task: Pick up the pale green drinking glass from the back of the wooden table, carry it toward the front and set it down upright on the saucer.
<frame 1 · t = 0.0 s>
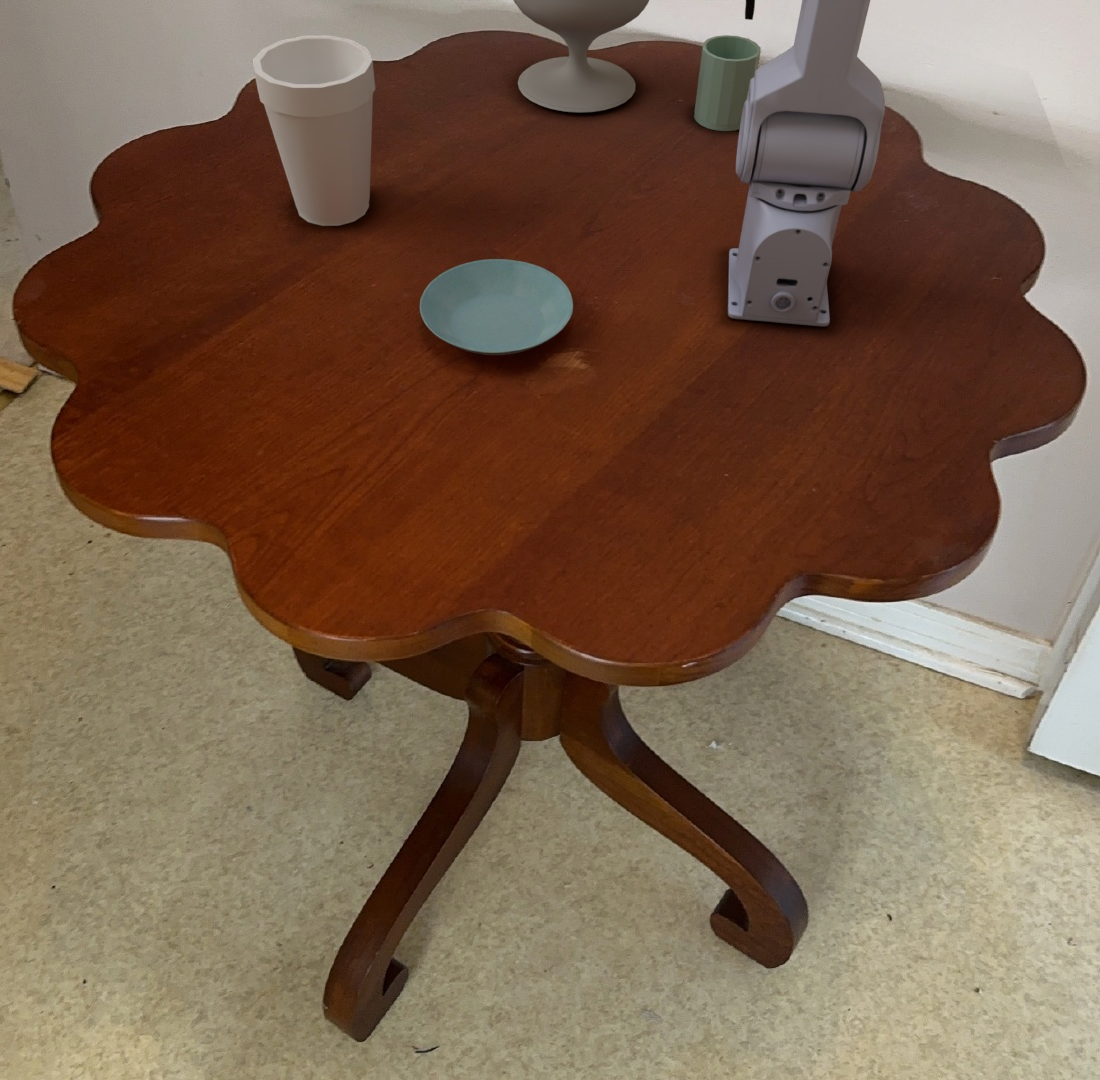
hand: (790, 18, 101), 10 cm above the table, tool pointing down, fingers open, 7 cm apart
foam cup: (333, 208, 97), on the table
glass: (721, 118, 109), on the table
saucer: (497, 328, 86), on the table
chalice: (576, 89, 113), on the table
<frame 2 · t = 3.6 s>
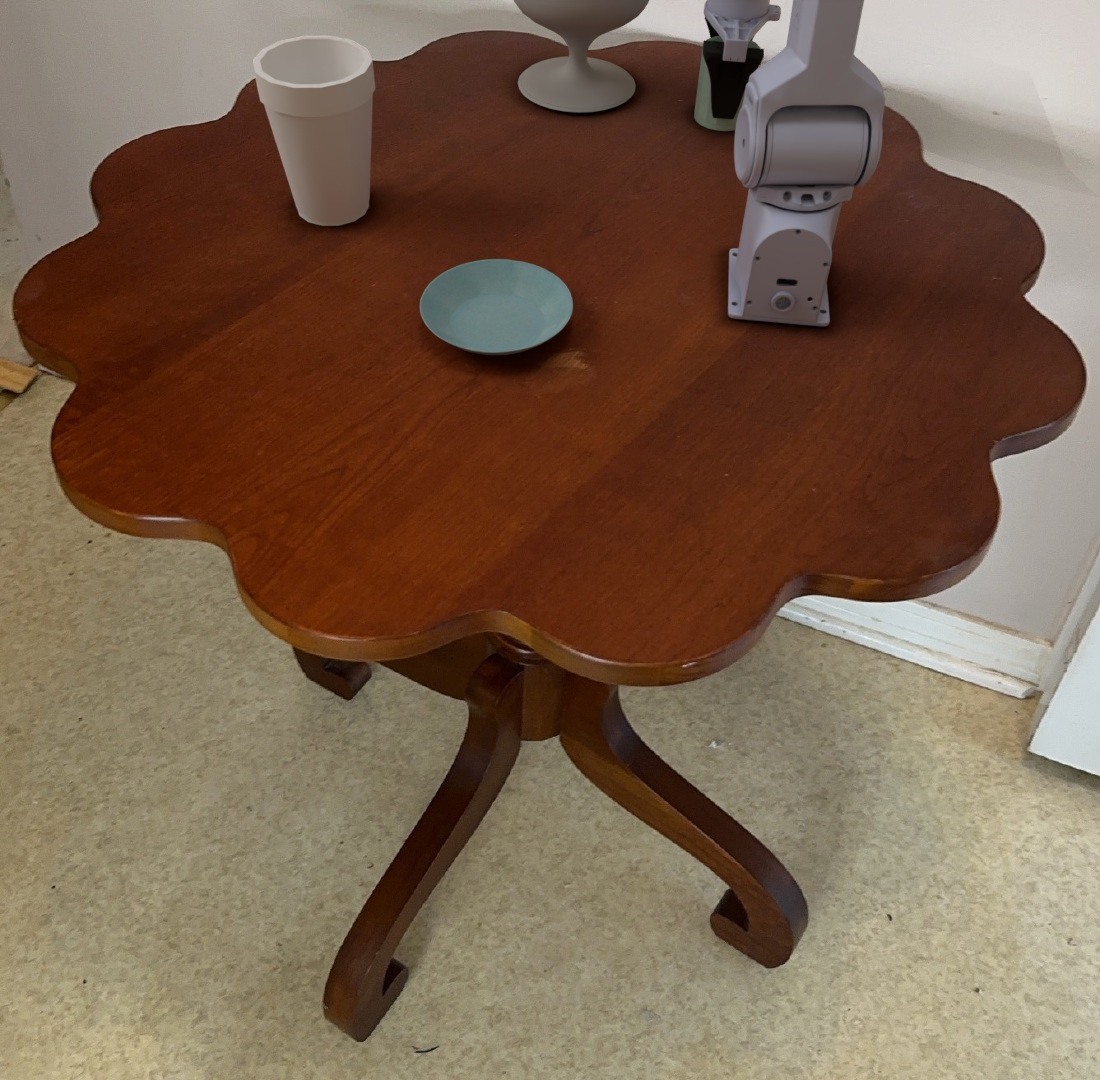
hand: (723, 102, 108), 2 cm above the table, tool pointing down, fingers closed on glass, 5 cm apart
glass: (721, 118, 109), on the table, touching gripper
everything else where it was.
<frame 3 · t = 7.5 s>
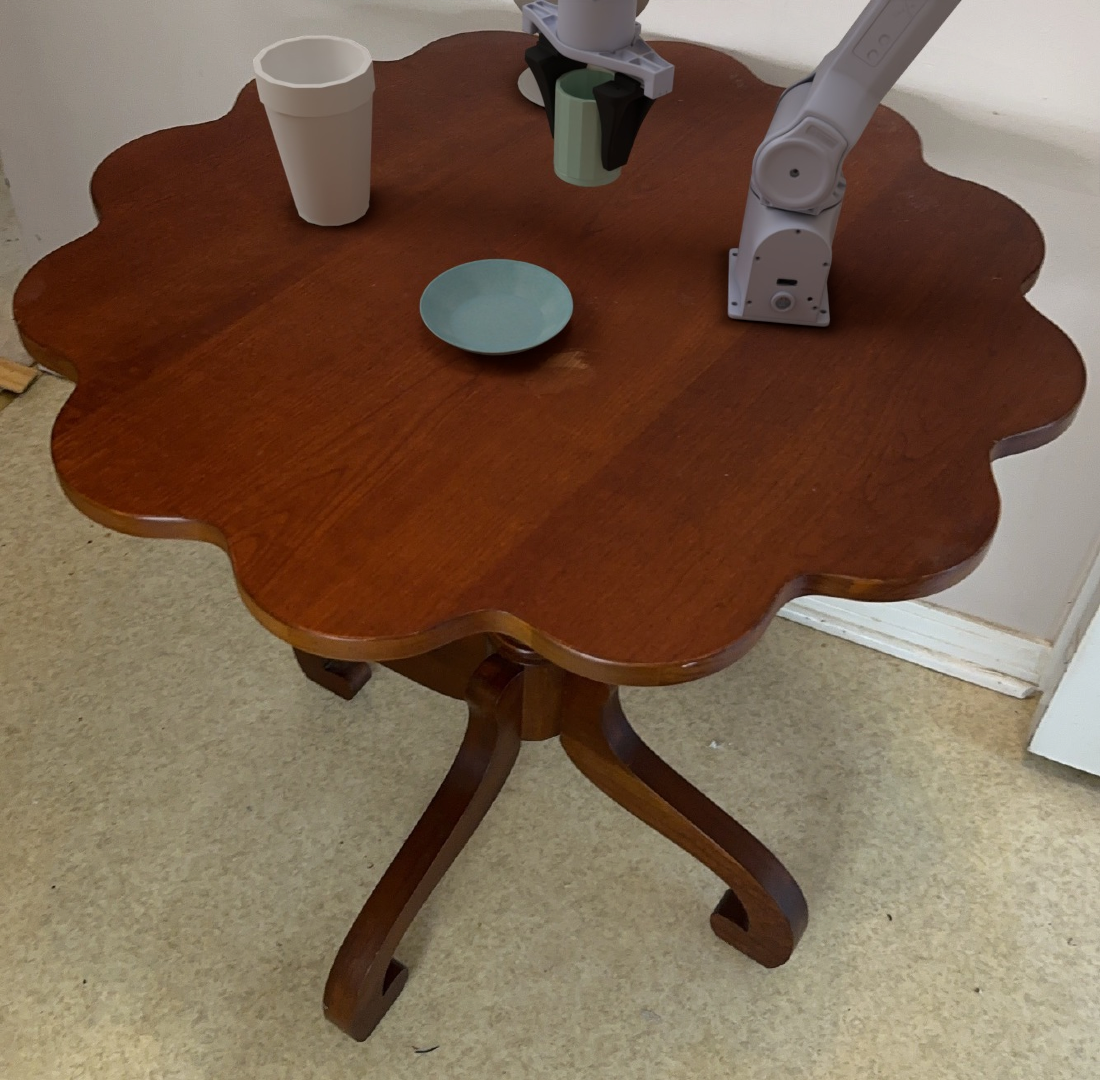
hand: (589, 151, 87), 9 cm above the table, tool pointing down, fingers closed on glass, 5 cm apart
glass: (587, 169, 88), point 7 cm above the table, touching gripper
everything else where it was.
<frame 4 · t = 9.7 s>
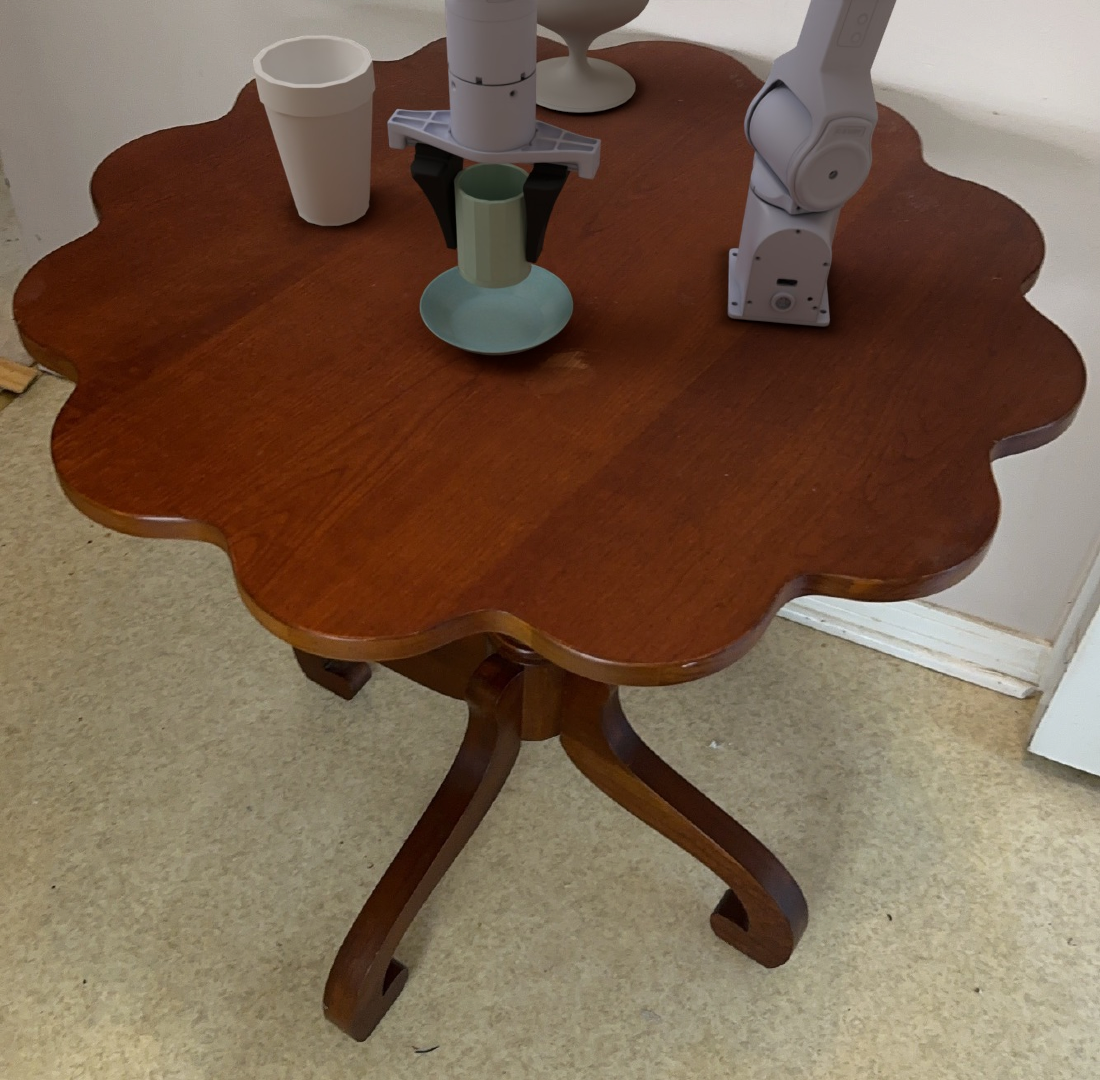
hand: (495, 248, 81), 7 cm above the table, tool pointing down, fingers closed on glass, 5 cm apart
glass: (494, 267, 82), point 5 cm above the table, touching gripper
everything else where it was.
when the fingers open (4 cm above the table, at t = 11.5 s): glass stays where it is, resting on saucer.
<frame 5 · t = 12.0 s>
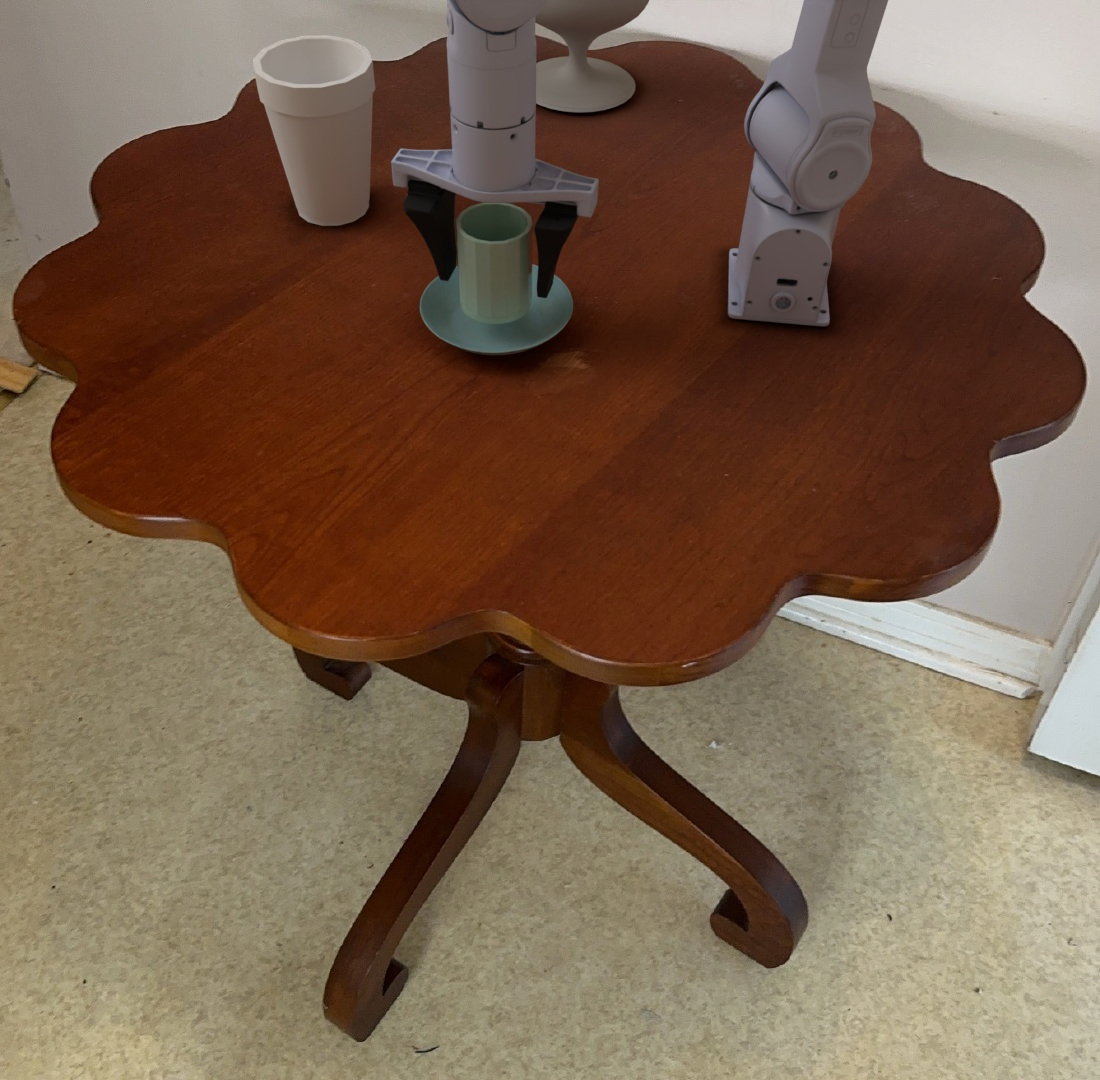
hand: (496, 281, 83), 4 cm above the table, tool pointing down, fingers open, 7 cm apart
glass: (495, 302, 84), point 2 cm above the table, touching saucer
saucer: (496, 328, 86), on the table, touching glass
everything else where it was.
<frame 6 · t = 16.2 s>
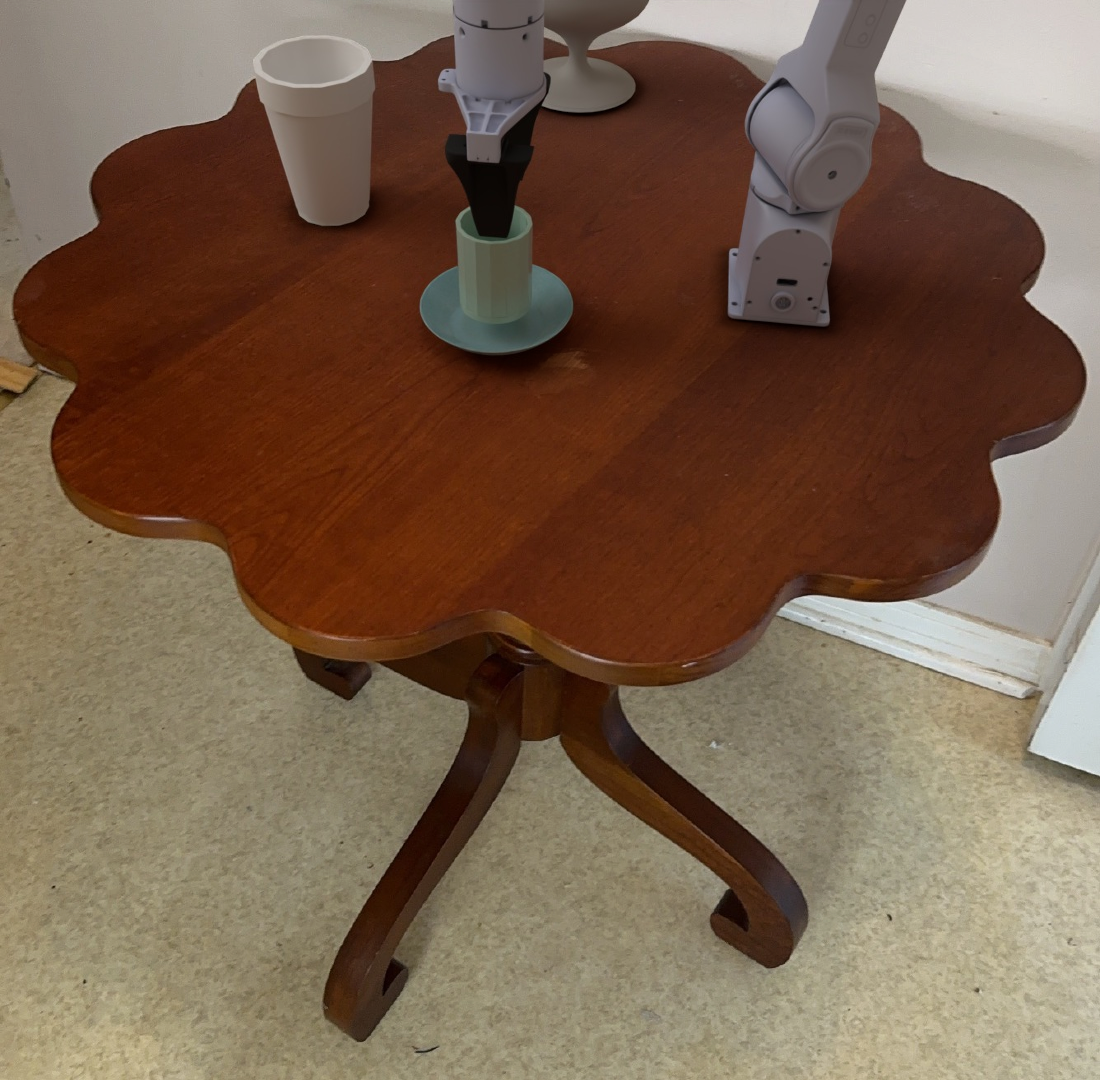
hand: (501, 205, 78), 10 cm above the table, tool pointing down, fingers open, 7 cm apart
nothing on the table moved.
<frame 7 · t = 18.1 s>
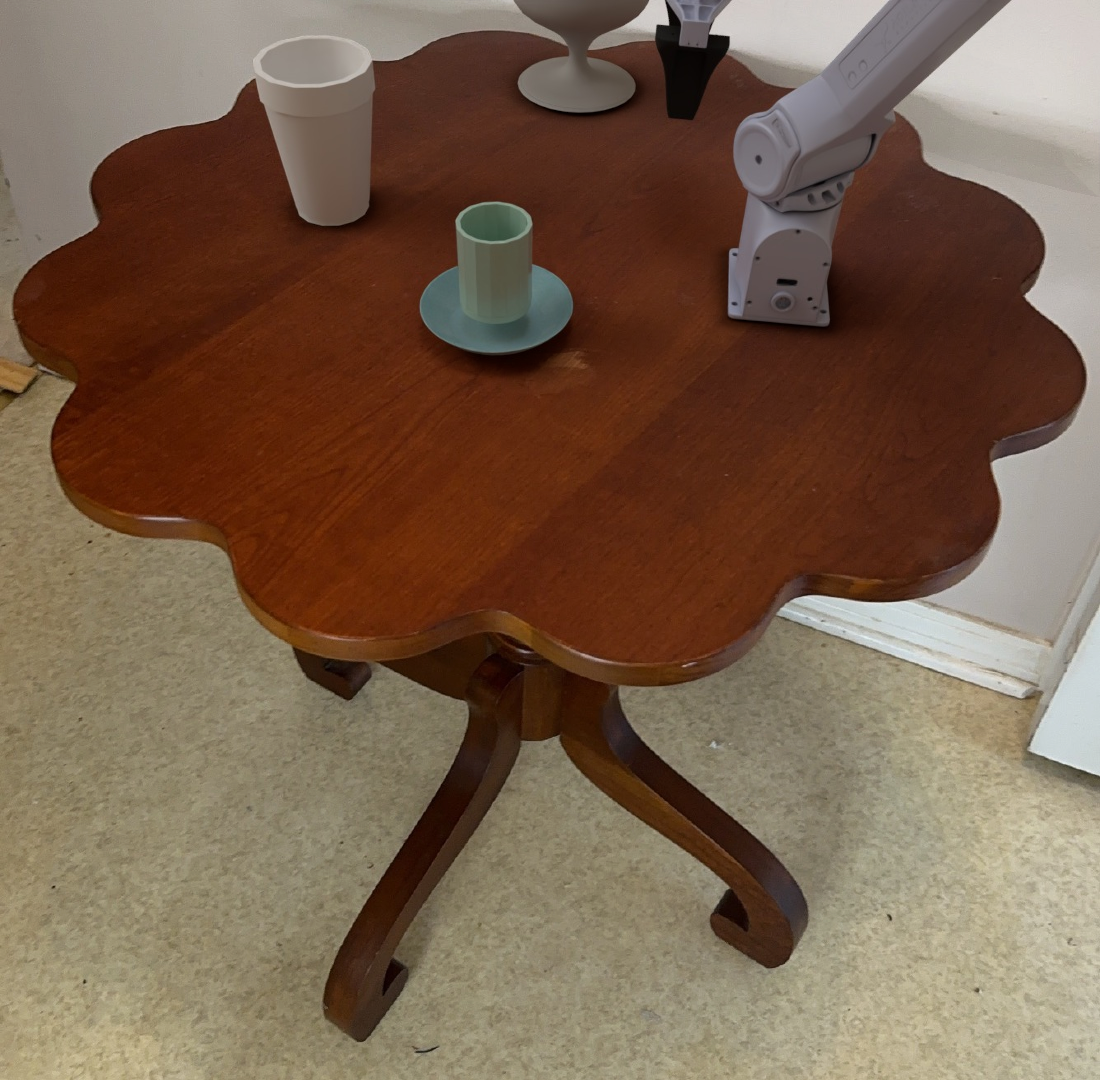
hand: (682, 93, 90), 10 cm above the table, tool pointing down, fingers open, 7 cm apart
nothing on the table moved.
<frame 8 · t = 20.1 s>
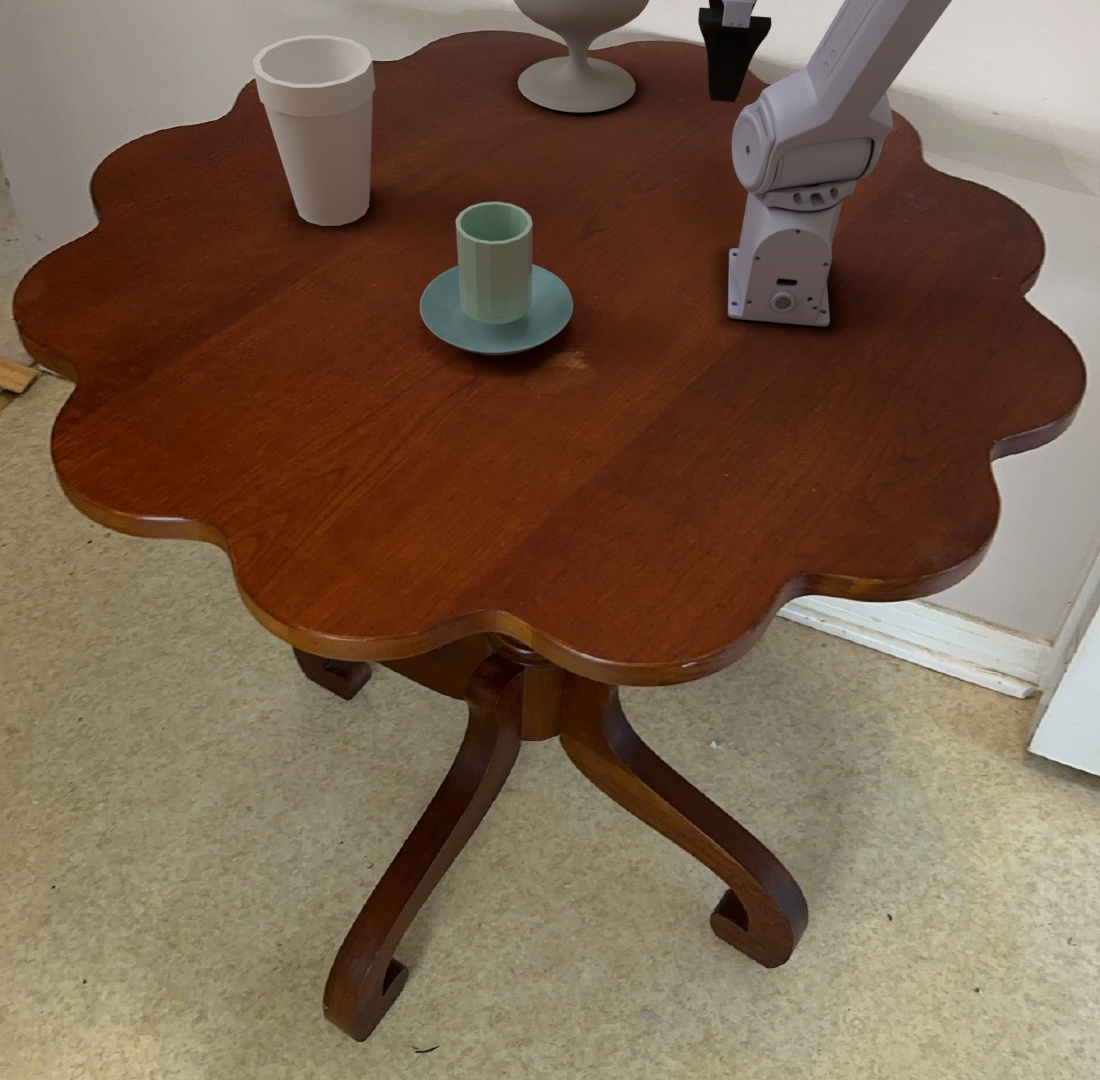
hand: (723, 78, 92), 10 cm above the table, tool pointing down, fingers open, 7 cm apart
nothing on the table moved.
at the end: glass 0.1 cm off-centre on the saucer, point 2.5 cm above the saucer's base; glass tilted 0°; the gripper is holding nothing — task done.
